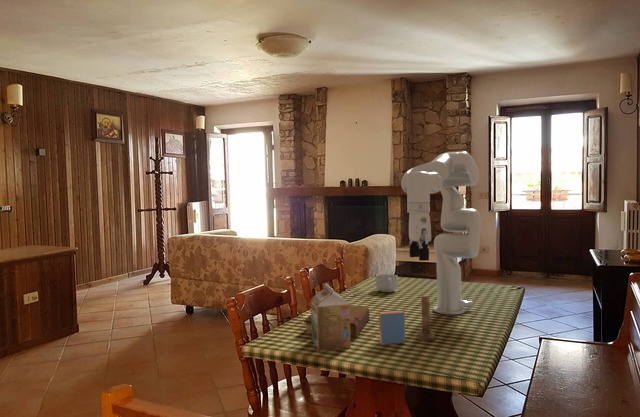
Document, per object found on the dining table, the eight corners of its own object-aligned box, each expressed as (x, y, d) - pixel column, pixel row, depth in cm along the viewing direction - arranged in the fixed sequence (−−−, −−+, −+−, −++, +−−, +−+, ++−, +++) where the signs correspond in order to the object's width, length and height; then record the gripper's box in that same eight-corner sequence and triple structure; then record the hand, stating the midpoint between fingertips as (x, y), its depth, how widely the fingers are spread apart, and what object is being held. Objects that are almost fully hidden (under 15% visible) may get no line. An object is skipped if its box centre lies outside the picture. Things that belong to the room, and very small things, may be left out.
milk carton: (350, 347, 149) (349, 288, 149) (318, 350, 147) (316, 291, 146) (342, 337, 160) (340, 282, 159) (311, 340, 158) (310, 284, 157)
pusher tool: (430, 335, 159) (430, 294, 159) (437, 340, 154) (436, 298, 153) (415, 336, 159) (414, 295, 158) (421, 341, 153) (420, 299, 152)
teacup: (376, 288, 236) (375, 273, 236) (397, 288, 235) (397, 273, 234) (375, 295, 222) (375, 278, 222) (398, 295, 221) (398, 278, 221)
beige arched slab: (356, 340, 158) (356, 323, 158) (304, 336, 164) (304, 320, 164) (369, 321, 180) (369, 306, 180) (323, 318, 186) (322, 304, 186)
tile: (403, 340, 155) (402, 310, 155) (405, 342, 153) (404, 312, 152) (379, 342, 154) (379, 312, 153) (381, 344, 152) (380, 313, 151)
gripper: (438, 208, 150) (439, 261, 150) (420, 207, 167) (421, 255, 168) (416, 208, 149) (416, 262, 149) (400, 208, 166) (400, 256, 167)
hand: (419, 258), depth 158 cm, fingers open, 9 cm apart
